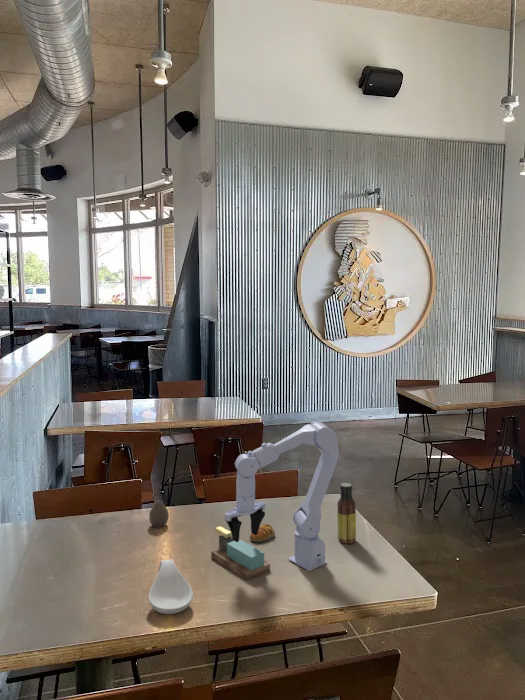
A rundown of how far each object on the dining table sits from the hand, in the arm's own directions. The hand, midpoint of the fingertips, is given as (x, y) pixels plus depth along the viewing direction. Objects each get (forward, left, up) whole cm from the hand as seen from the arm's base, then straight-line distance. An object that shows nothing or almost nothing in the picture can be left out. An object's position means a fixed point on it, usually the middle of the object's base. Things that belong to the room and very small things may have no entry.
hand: (245, 537), depth 160 cm
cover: (0, 0, -7) cm, 7 cm away
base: (+2, 0, -9) cm, 10 cm away
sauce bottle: (-9, -38, -10) cm, 40 cm away
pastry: (+12, -18, -10) cm, 24 cm away
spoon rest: (+1, +26, -10) cm, 28 cm away
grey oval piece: (+43, +5, -10) cm, 45 cm away
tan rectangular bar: (+11, 0, -3) cm, 12 cm away
